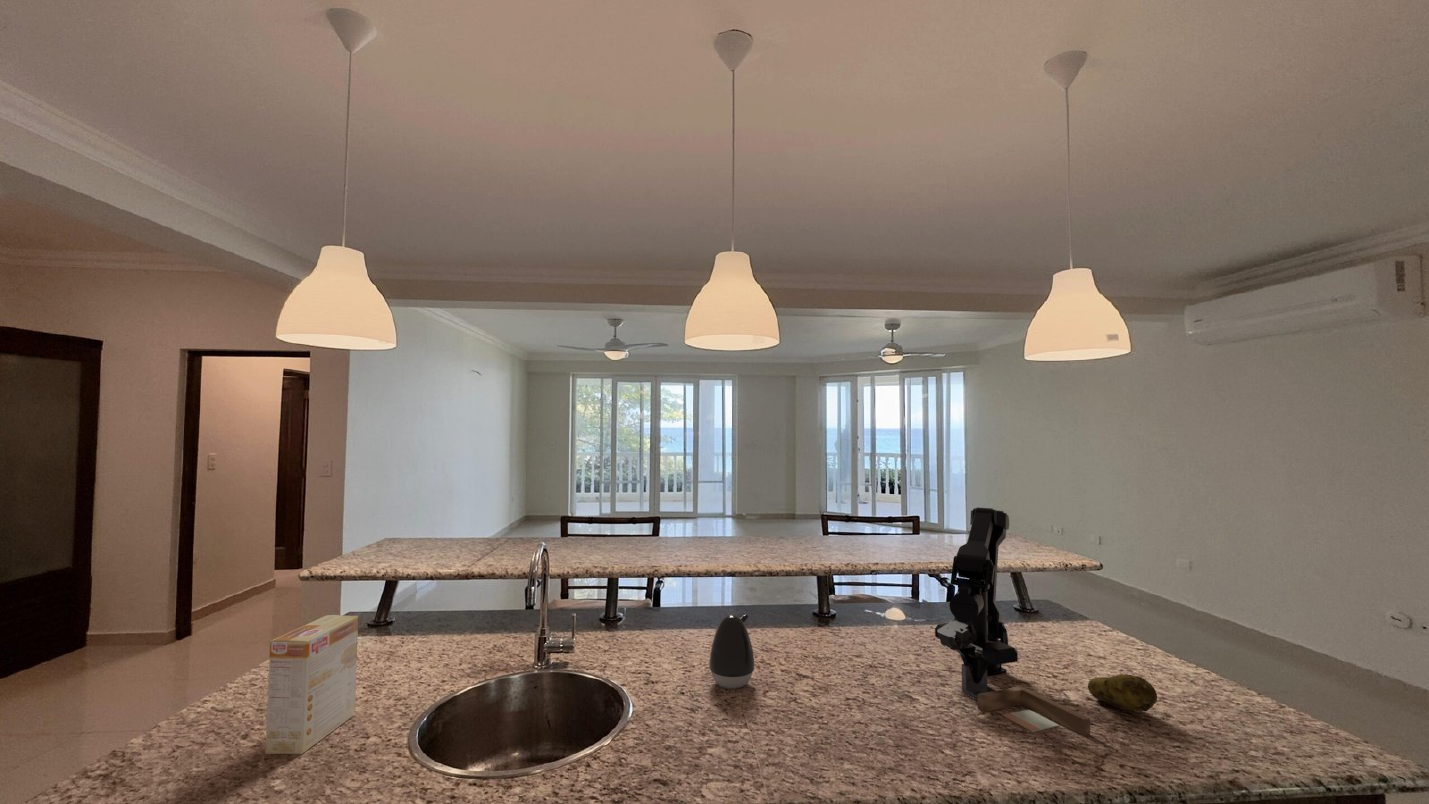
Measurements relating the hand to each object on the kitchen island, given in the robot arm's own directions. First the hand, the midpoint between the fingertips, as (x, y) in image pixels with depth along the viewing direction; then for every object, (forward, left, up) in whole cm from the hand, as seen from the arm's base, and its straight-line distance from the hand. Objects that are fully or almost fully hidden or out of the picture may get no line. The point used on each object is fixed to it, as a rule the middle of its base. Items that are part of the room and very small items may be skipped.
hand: (974, 681), depth 131 cm
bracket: (0, +2, -2) cm, 3 cm away
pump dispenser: (+49, -22, -2) cm, 54 cm away
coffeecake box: (+131, -28, -2) cm, 134 cm away
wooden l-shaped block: (0, +14, -2) cm, 15 cm away
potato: (-22, +17, -2) cm, 28 cm away
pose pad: (0, +14, -2) cm, 15 cm away
